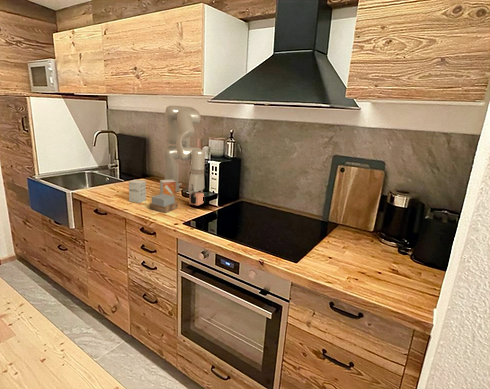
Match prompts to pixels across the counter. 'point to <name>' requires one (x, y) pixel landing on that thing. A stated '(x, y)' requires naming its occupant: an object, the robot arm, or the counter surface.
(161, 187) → the small box
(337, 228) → the counter surface
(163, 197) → the tower top
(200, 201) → the terracotta block
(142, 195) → the supplement box
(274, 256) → the counter surface
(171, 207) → the tower bottom
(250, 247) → the counter surface
